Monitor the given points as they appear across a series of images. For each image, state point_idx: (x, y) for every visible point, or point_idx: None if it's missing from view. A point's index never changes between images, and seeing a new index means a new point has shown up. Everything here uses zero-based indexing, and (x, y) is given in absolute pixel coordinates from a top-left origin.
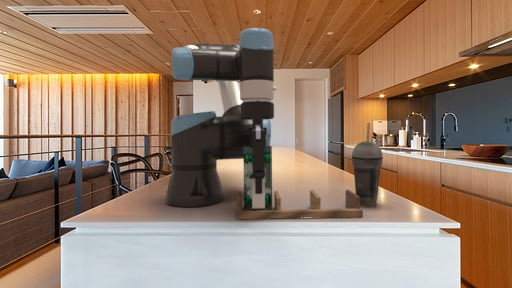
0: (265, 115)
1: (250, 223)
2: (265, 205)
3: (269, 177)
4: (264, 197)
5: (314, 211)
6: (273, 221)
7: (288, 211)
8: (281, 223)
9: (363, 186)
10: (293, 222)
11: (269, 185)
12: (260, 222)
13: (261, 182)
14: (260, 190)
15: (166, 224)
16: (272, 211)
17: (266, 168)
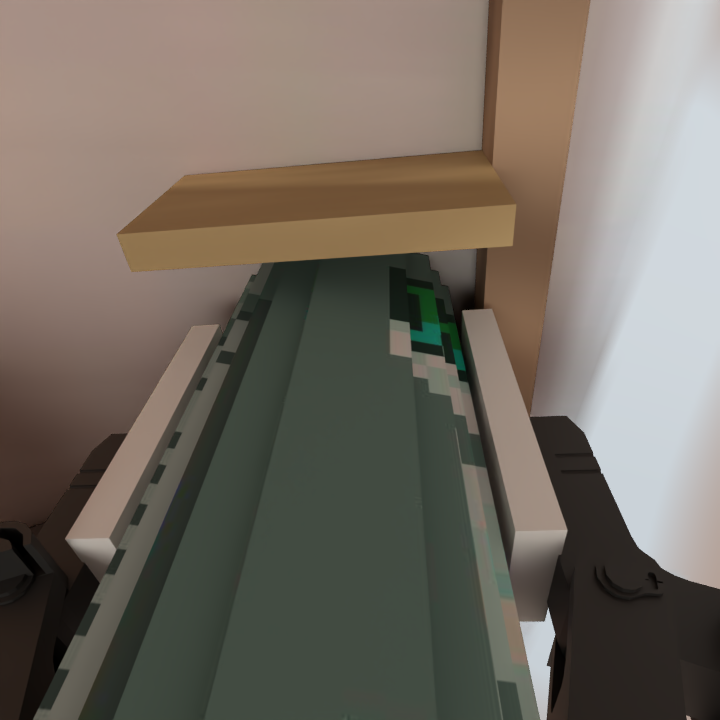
0: None
1: (602, 356)
2: (445, 311)
3: (419, 470)
4: (509, 366)
5: None
6: (596, 212)
7: (565, 83)
8: (666, 146)
9: None
10: (673, 25)
11: (408, 390)
12: (596, 300)
13: (621, 520)
14: (585, 454)
15: (532, 622)
16: (538, 242)
17: (479, 648)
